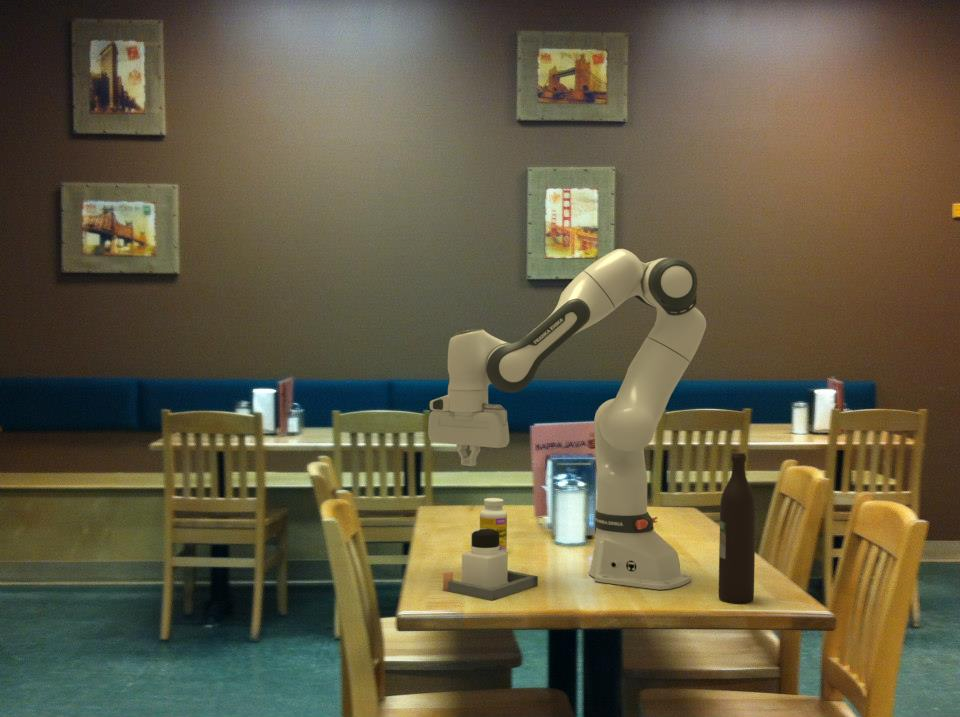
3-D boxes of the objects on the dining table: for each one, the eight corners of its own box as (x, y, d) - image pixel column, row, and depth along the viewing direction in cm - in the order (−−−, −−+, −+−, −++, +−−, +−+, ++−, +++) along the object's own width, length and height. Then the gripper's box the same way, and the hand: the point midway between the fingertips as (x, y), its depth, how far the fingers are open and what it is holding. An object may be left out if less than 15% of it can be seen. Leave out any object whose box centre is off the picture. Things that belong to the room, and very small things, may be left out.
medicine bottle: (508, 585, 231) (508, 529, 231) (487, 591, 225) (488, 534, 225) (481, 580, 235) (482, 525, 235) (461, 586, 230) (461, 530, 229)
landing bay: (538, 585, 231) (538, 569, 231) (491, 600, 218) (491, 583, 218) (489, 575, 239) (489, 559, 239) (441, 590, 226) (441, 573, 226)
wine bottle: (733, 593, 226) (736, 450, 225) (761, 600, 220) (764, 454, 219) (711, 598, 222) (713, 452, 221) (738, 605, 216) (741, 456, 215)
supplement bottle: (495, 556, 259) (496, 502, 259) (473, 552, 263) (474, 499, 263) (512, 551, 264) (512, 499, 264) (490, 547, 268) (490, 496, 268)
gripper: (515, 403, 234) (515, 467, 235) (441, 399, 246) (442, 460, 247) (497, 405, 229) (498, 471, 230) (423, 401, 241) (424, 463, 242)
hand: (468, 465), depth 238 cm, fingers closed
